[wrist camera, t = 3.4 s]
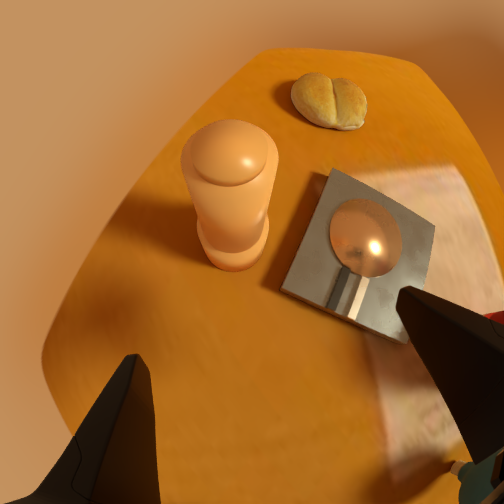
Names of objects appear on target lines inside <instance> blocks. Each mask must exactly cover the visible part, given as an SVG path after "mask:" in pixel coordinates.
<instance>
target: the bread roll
mask: <svg viewBox="0 0 504 504" xmlns="http://www.w3.org/2000/svg"><path fill="white" fill-rule="evenodd" d="M291 99H292V102H293V104H294V106H295V108H296V109H297V110H298V111H299V112H300V113H301V114H302V115H303V116H304V117H305V118H306V119H308V120H309V121H310V122H312V123H314V124H316V125H319V126H322V127H326V128H336V129H338V130H344V131H345V130H354V129H358V128H360V127H361V126H362V125H363V123H364V117H365V114H366V111H367V103H366V97H365V95H364V94H363V92H362V90H361V89H360V88H359V87H358V86H357V85H356V84H354V83H353V82H351V81H349V80H347V79H343V78H337V79H330V78H328V77H327V76H325V75H323V74H320V73H308V74H305V75H303V76H301V77H300V78H299V79H298V80H297V81H296V82H295V83H294V85H293V86H292V89H291Z"/></svg>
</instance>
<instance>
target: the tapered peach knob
mask: <svg viewBox="0 0 504 504" xmlns="http://www.w3.org/2000/svg"><path fill="white" fill-rule="evenodd" d="M278 159H279V158H278V151H277V147H276V145H275V143H274V141H273V140H272V138H271V137H270V136H269V135H268V134H267V133H266V132H265V131H263V130H262V129H260V128H259V127H257V126H255V125H252V124H250V123H248V122H245V121H241V120H233V119H228V120H220V121H217V122H213V123H211V124H209V125H207V126H205V127H203V128H202V129H200V130H198V131H197V132H196V133H195V134H193V135H192V136H191V137H190V139H189V140H188V141H187V143H186V144H185V146H184V148H183V151H182V155H181V167H182V171H183V174H184V177H185V180H186V183H187V186H188V189H189V192H190V195H191V198H192V201H193V204H194V207H195V210H196V213H197V216H198V220H197V233H198V236H199V239H200V241H201V244H202V246H203V249H204V251H205V253H206V255H207V257H208V259H209V260H210V262H211V263H212V264H213V265H215V266H216V267H218V268H219V269H222V270H224V271H229V272H239V271H243V270H246V269H248V268H250V267H251V266H253V265H254V264H255V263H256V262H257V261H258V260H259V258H260V256H261V255H262V252H263V249H264V245H265V242H266V239H267V235H268V231H269V220H268V216H267V210H268V205H269V201H270V197H271V192H272V188H273V184H274V179H275V175H276V170H277V166H278Z"/></svg>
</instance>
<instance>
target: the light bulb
mask: <svg viewBox="0 0 504 504" xmlns="http://www.w3.org/2000/svg"><path fill="white" fill-rule="evenodd" d="M503 449H504V447H502V448H501V449H500V450H498V451H497V452H495V453H494V454H492V455H491V456H489V457H488V458H486V459H485V460H483V461H482V462H480V463H479V464H477V465H475V464H474V463H473V462H468V463H466V462H463V461H461V460H459V461H456V462H455V463H454V464H453V465H452V467H451V473H452V474H455V475H456V476H458V480H459V481H460V482H461V487H460V490H459V504H480V503H481V502H482V501H483V500H484V499H485V498H486V497H487V496H489V495H490V494H491V493H492V492H493V491H494V489H493V487H492V485H491V483H490V480H491V476H492V472H493V467H494V463H495V458H496V456H497V455H498V454H499V453H500V452H501V451H502V450H503Z"/></svg>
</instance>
